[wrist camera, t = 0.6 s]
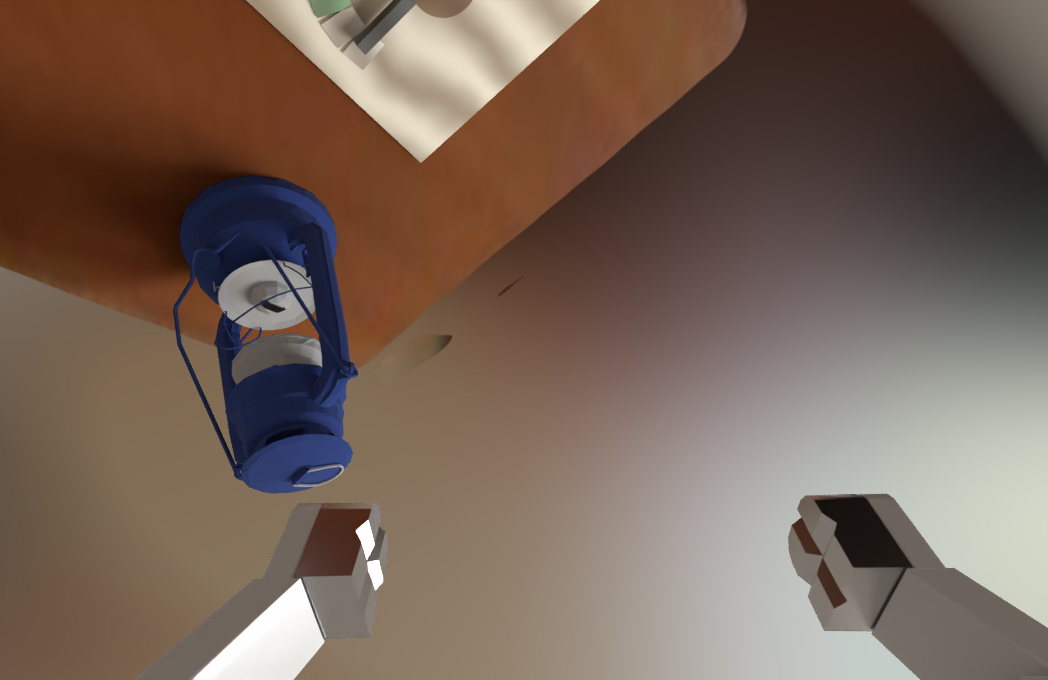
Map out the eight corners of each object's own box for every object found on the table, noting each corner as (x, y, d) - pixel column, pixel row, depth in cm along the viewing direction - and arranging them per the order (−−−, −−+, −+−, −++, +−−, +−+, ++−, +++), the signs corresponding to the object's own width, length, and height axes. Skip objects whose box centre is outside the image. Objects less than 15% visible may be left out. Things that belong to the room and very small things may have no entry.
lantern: (278, 313, 68) (317, 540, 51) (143, 261, 57) (133, 532, 39) (368, 216, 63) (446, 433, 46) (239, 139, 52) (277, 388, 34)
